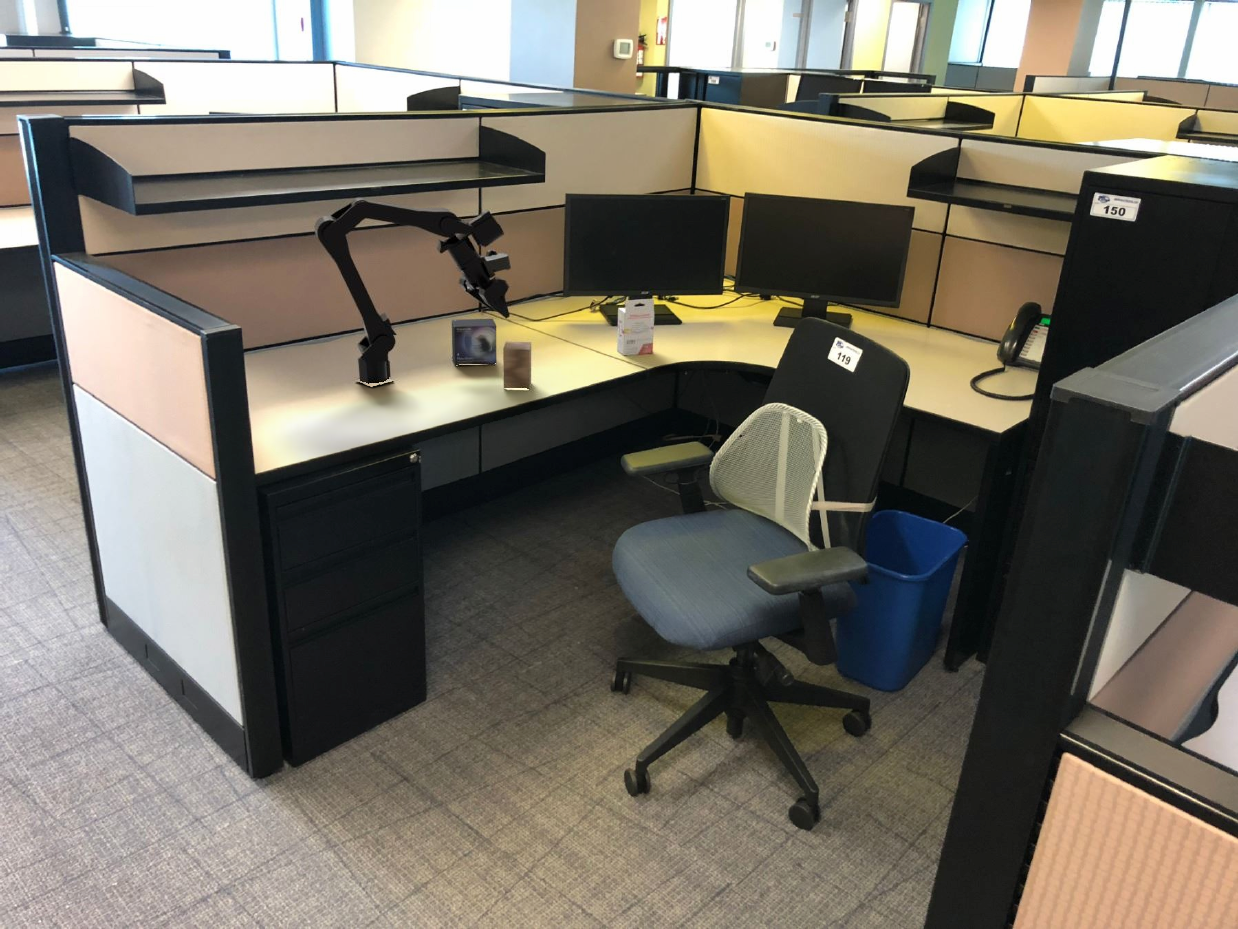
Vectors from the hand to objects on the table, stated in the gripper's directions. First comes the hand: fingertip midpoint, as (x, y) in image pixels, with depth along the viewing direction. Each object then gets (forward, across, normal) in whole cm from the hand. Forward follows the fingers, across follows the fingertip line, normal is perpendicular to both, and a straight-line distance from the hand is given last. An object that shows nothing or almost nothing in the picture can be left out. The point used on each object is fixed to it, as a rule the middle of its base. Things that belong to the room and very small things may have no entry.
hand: (501, 313), depth 230 cm
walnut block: (+13, -11, +8) cm, 19 cm away
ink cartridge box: (+32, +4, -26) cm, 41 cm away
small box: (+10, +10, +10) cm, 18 cm away
